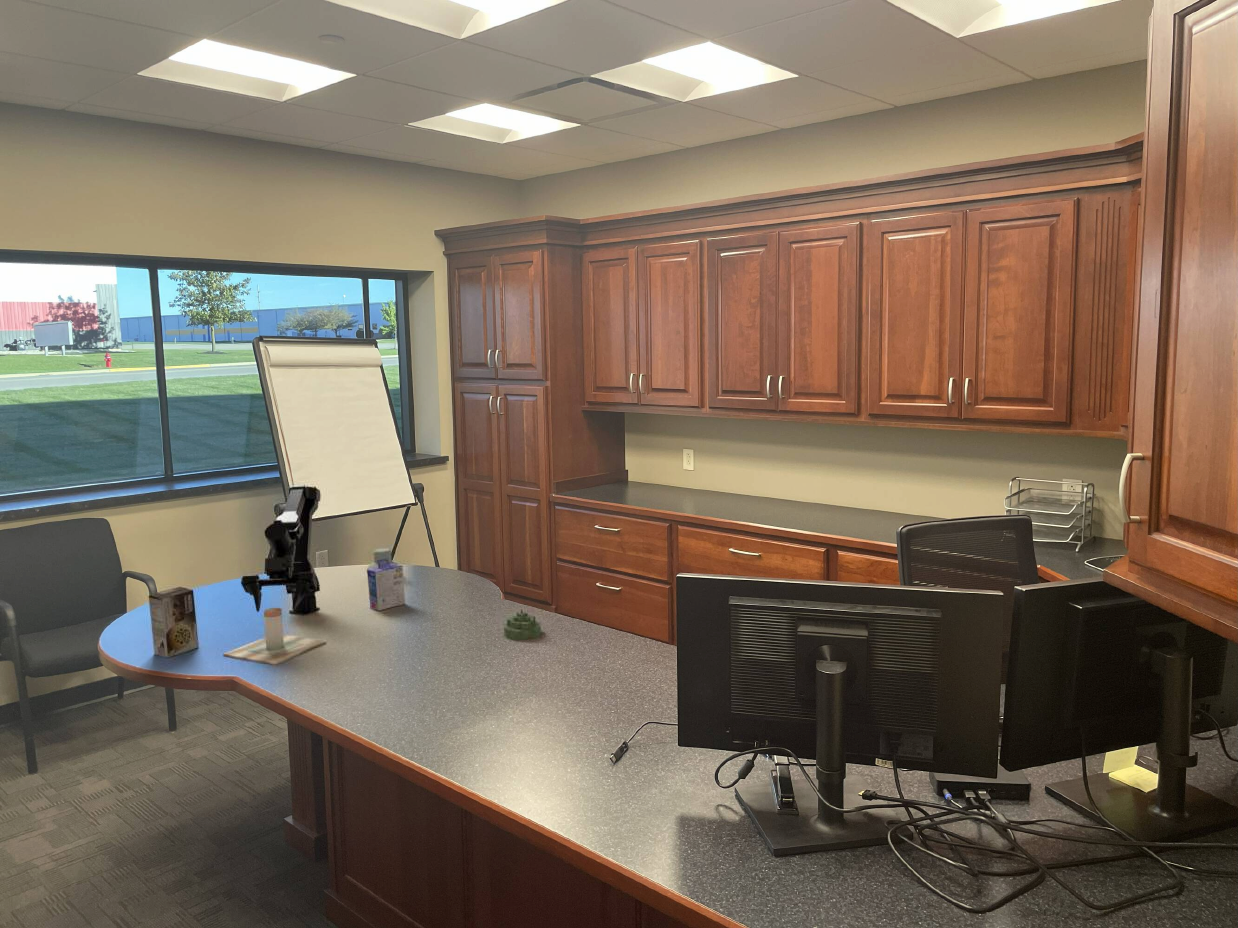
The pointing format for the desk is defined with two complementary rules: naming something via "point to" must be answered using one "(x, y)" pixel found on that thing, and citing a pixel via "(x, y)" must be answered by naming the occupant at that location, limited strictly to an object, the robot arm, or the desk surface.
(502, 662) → the desk surface
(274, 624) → the tube
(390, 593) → the ink cartridge box
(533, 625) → the decorative artifact
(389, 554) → the air freshener
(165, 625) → the brown food box
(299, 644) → the board
